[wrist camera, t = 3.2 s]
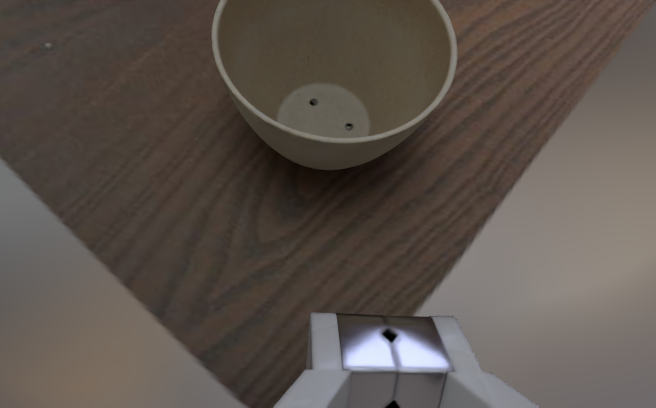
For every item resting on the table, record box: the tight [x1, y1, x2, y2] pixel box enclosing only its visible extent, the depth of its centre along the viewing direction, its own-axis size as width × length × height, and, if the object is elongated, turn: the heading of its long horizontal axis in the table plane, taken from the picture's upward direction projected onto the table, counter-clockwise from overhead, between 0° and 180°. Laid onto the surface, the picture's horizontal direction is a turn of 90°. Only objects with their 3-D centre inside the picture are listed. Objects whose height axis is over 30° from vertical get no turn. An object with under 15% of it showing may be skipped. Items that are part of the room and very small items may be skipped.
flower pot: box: [212, 0, 457, 170], centre depth 22 cm, size 10×10×7 cm
